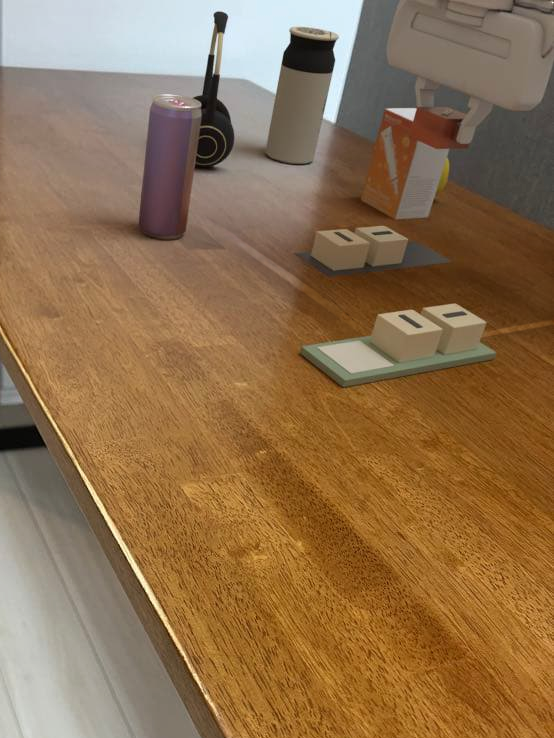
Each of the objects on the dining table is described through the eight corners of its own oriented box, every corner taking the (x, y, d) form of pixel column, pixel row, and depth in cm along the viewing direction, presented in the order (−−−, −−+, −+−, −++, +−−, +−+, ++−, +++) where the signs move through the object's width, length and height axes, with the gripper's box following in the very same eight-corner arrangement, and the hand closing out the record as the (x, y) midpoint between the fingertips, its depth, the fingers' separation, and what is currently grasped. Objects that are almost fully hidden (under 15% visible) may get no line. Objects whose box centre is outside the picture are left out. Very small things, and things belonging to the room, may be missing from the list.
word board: (447, 329, 93) (459, 295, 90) (494, 359, 88) (508, 324, 86) (299, 353, 84) (308, 316, 82) (342, 387, 80) (353, 349, 77)
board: (414, 247, 113) (423, 217, 110) (451, 267, 108) (462, 237, 105) (292, 259, 104) (299, 227, 102) (326, 282, 100) (334, 250, 97)
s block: (439, 136, 96) (448, 106, 94) (468, 148, 93) (478, 117, 91) (408, 136, 94) (417, 105, 92) (436, 149, 91) (446, 117, 89)
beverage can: (156, 243, 103) (172, 108, 94) (128, 226, 107) (140, 94, 97) (194, 237, 106) (213, 106, 97) (166, 221, 110) (181, 92, 100)
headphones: (224, 151, 138) (247, 7, 126) (230, 179, 127) (256, 24, 114) (172, 144, 138) (189, 0, 125) (173, 172, 126) (192, 16, 114)
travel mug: (260, 158, 137) (283, 30, 126) (269, 147, 143) (292, 23, 132) (309, 168, 136) (337, 39, 124) (316, 156, 142) (343, 32, 130)
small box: (358, 204, 124) (383, 107, 116) (392, 203, 126) (419, 107, 118) (393, 225, 119) (422, 124, 110) (427, 222, 121) (459, 124, 113)
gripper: (592, 5, 78) (532, 163, 87) (441, -32, 92) (402, 108, 100) (545, 1, 76) (488, 164, 84) (397, -37, 89) (360, 107, 98)
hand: (440, 133), depth 93 cm, fingers closed on s block, 4 cm apart
